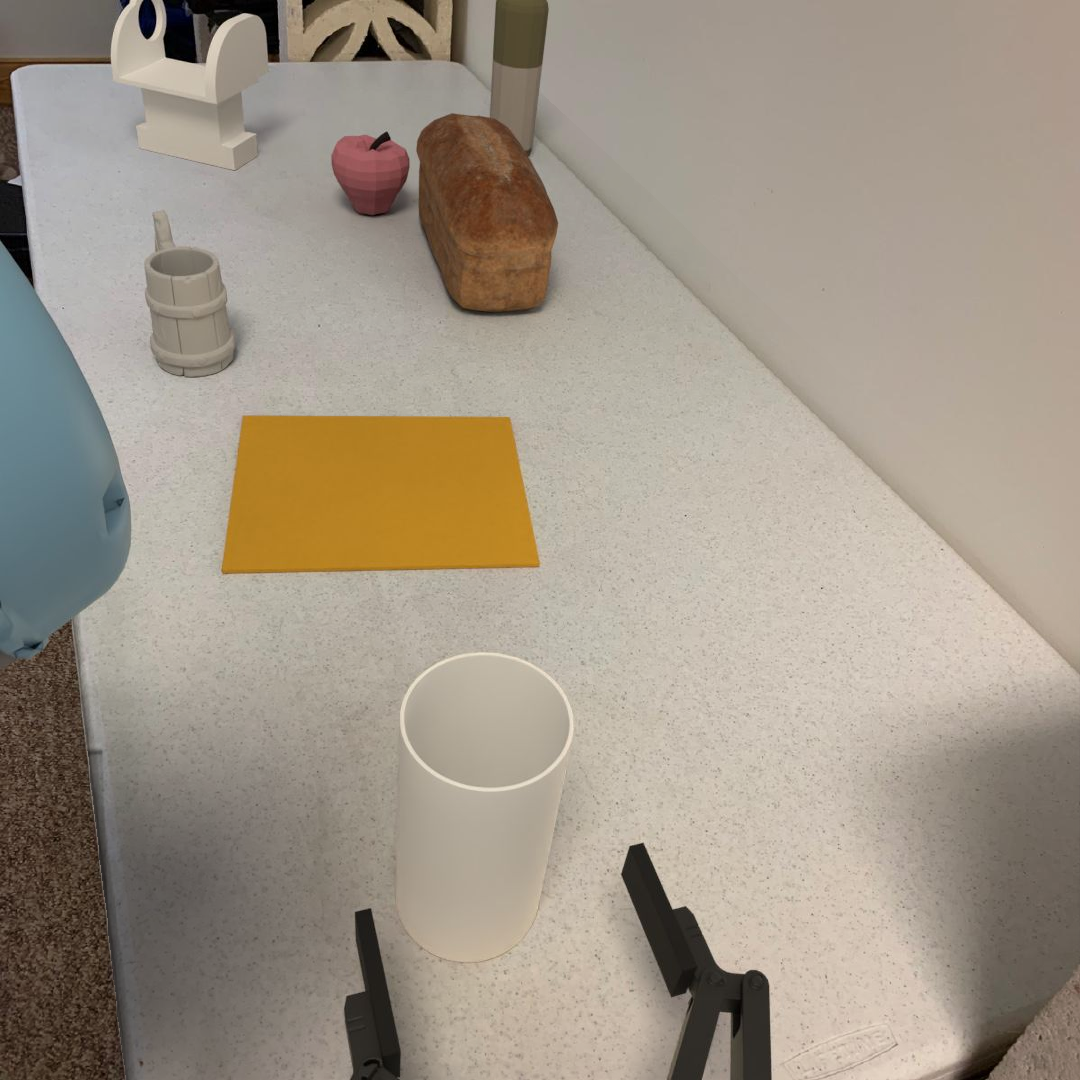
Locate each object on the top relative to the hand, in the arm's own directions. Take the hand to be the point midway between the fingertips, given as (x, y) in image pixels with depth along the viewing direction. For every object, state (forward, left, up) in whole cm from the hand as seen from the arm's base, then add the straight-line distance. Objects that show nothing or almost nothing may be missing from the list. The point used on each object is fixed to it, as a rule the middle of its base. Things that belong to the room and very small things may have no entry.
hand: (502, 889), depth 48 cm
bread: (+7, +84, -9) cm, 84 cm away
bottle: (+15, +119, -9) cm, 120 cm away
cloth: (-5, +42, -8) cm, 43 cm away
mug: (-23, +64, -9) cm, 68 cm away
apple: (-5, +97, -9) cm, 97 cm away
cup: (-1, +5, -9) cm, 10 cm away
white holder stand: (-27, +114, -9) cm, 117 cm away
